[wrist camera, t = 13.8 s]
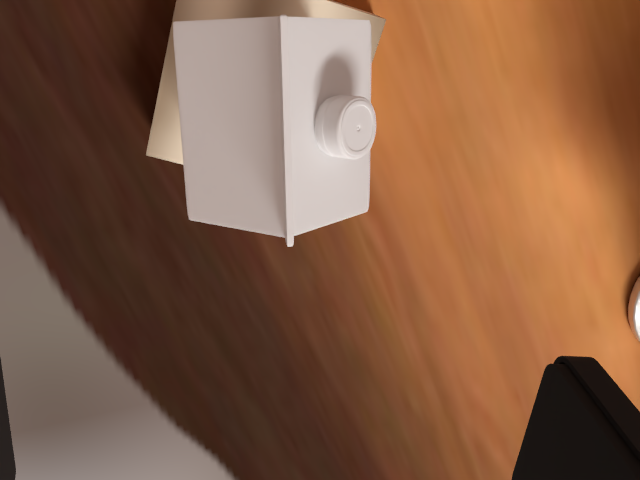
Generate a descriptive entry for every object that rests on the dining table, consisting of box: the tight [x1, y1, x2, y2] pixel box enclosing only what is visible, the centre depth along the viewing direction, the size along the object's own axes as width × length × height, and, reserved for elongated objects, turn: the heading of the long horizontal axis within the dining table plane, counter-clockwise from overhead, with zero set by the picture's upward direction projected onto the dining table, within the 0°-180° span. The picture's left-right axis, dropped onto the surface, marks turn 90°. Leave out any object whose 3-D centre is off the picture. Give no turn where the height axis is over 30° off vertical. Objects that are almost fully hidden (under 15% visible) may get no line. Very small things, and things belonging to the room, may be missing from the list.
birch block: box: [146, 0, 386, 165], centre depth 39 cm, size 12×12×5 cm
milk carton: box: [173, 14, 376, 247], centre depth 28 cm, size 7×7×19 cm
